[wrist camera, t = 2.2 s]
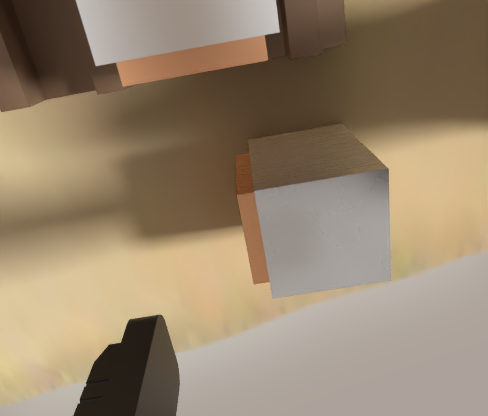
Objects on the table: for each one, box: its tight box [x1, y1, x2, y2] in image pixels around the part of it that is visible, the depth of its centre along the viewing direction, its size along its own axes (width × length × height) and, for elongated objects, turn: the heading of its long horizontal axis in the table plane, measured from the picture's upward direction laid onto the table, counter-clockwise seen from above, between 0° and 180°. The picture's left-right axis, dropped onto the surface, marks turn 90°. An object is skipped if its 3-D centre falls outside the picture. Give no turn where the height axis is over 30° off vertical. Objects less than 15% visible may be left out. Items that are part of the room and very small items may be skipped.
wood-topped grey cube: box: [236, 123, 391, 298], centre depth 16 cm, size 4×5×6 cm
